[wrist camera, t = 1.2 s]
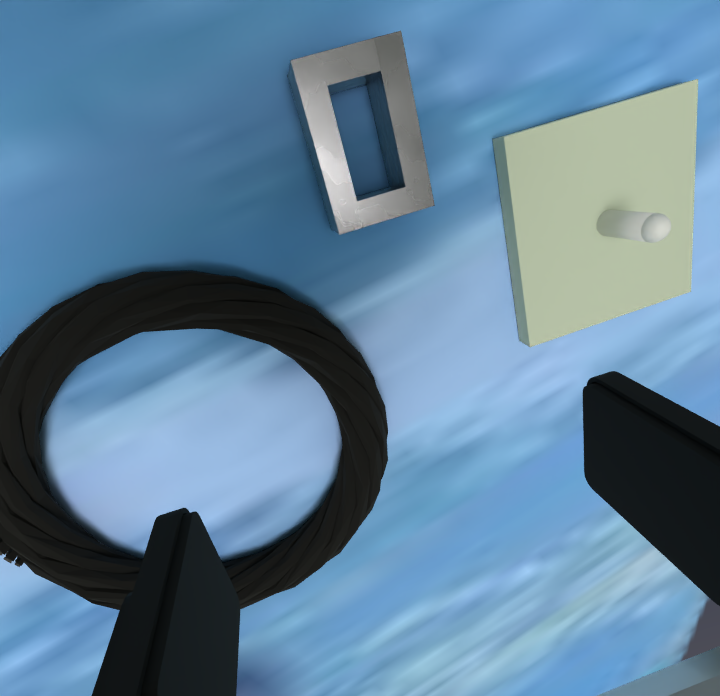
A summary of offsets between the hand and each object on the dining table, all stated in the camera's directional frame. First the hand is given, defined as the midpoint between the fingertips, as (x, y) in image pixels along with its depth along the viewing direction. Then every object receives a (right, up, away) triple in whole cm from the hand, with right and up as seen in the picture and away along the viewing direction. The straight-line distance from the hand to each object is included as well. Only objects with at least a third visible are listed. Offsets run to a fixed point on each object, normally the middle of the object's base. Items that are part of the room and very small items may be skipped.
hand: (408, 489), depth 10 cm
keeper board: (+16, +13, +22) cm, 30 cm away
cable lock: (-14, -4, +23) cm, 27 cm away
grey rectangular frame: (-1, +16, +17) cm, 24 cm away
